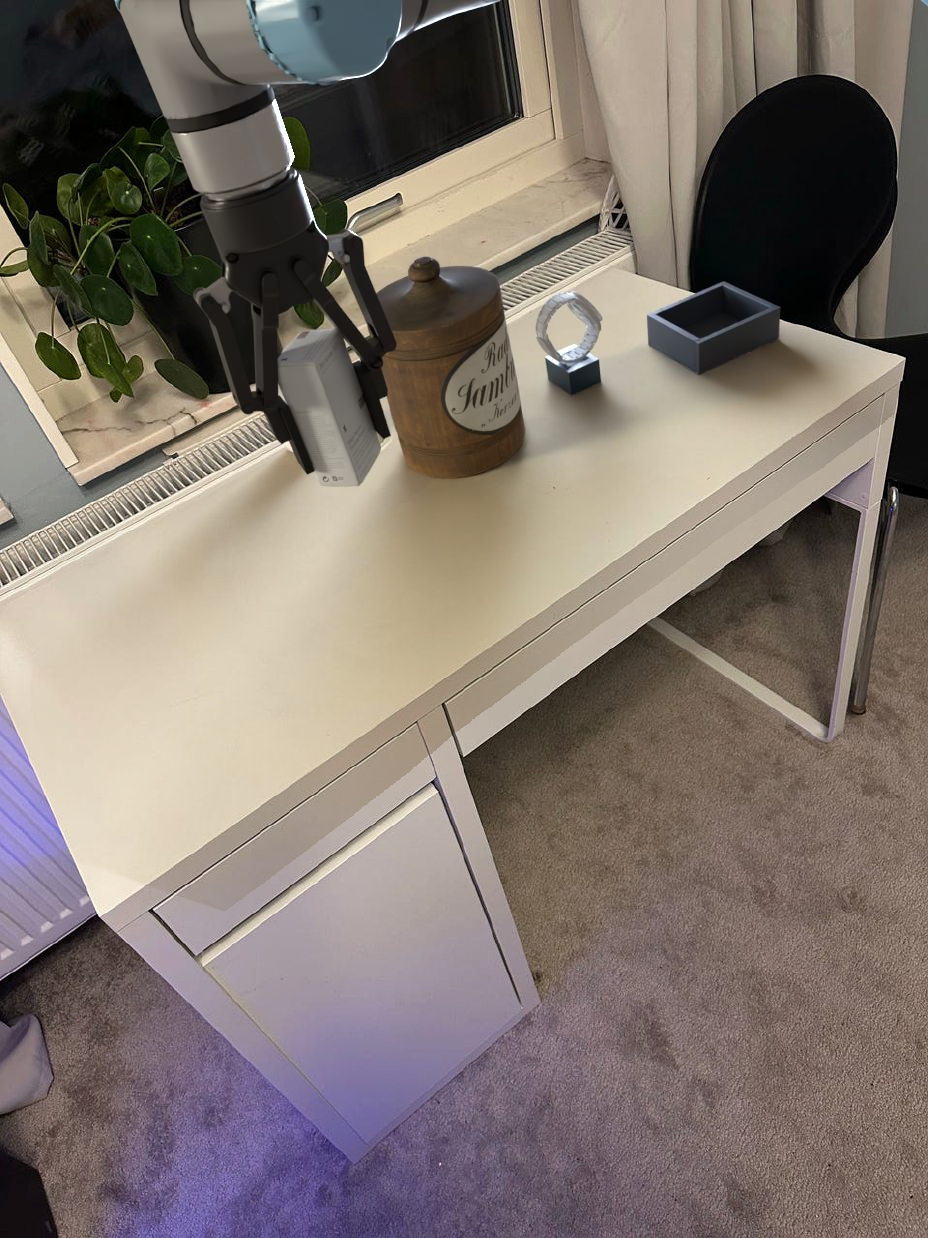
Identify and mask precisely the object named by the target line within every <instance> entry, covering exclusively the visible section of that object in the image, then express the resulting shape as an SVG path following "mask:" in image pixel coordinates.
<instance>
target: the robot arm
mask: <svg viewBox="0 0 928 1238" xmlns="http://www.w3.org/2000/svg"><path fill="white" fill-rule="evenodd" d="M500 1H501V0H114V2H115V6H116V8H117V11H119V13H120V15H121V17H122V19H123V22H124V24H125V26H126V29H127V31H128V34H129V36H130V39H131V41H132V44H133V45H134V49H135V50H136V53H137V55H138V58H139V60H140V62H141V65H142V67H143V70H144V72H145V74H146V76H147V79H148V82H149V83H150V86H151V89H152V91H153V93H154V95H155V99H156V100H157V103H158V105H159V107H160V110H161V112H162V115H163V117H164V118H165V120H166V123H167V125H168V128H169V131H170V133H171V135H172V138H173V140H174V144H175V146H176V148H177V151H178V153H179V155H180V158H181V161H182V163H183V166H184V168H185V170H186V171H185V172H186V173H187V176H188V179H189V181H190V184H191V186H192V188H193V190H194V191H196V192H198V193H199V194H201V198H200V201H199V207H200V210H201V211H202V215H203V216H204V219H205V221H206V224H207V226H208V229H209V231H210V233H211V235H212V238H213V241H214V243H215V246H216V248H217V250H218V253H219V256H220V259H221V270H220V275H221V277H220V278H217V280H215V281H214V282H212V283H211V284H210V285H209V286H207V287H206V288H205V287H203V286H198V287H197V288H195V289H194V290H193V293H192V297H193V299H194V301H195V302H196V304H197V305H198V306H199V308H200V309H201V310H202V312H203V313H204V314H205V316H206V317H207V318H208V321H209V326H210V328H211V331H212V334H213V337H214V340H215V344H216V347H217V351H218V354H219V356H220V357H219V358H220V360H221V363H222V367H223V370H224V373H225V376H226V380H227V383H228V385H229V390H230V392H231V395H232V398H233V401H234V402H235V404H236V405H237V406H238V408H239V409H240V411H241V412H242V413H243V415H252V414H254V413H256V412H261V413H263V415H264V417H265V420H266V422H267V424H268V426H269V428H270V431H271V433H272V435H273V436H274V438H275V439H276V441H278V443H280V445H284V443H285V442H287V441H289V443H290V445H291V447H292V450H293V452H294V453H293V452H292V453H293V455H294V457H295V459H296V462H297V463H298V465H299V466H300V468H301V469H302V470H303V471H304V473H305V474H306V475H307V476H308V475H310V474H312V473H315V472H314V471H315V470H314V468H313V465H312V463H311V460H310V458H309V455H308V453H307V450H306V448H305V445H304V443H303V440H302V438H301V435H300V433H299V430H298V428H297V425H296V423H295V420H294V418H293V415H292V413H291V410H290V408H289V406H288V405H287V404H286V403H285V401H284V400H283V399H282V398H281V396H280V395H279V396H278V357H279V356H278V329H279V327H280V326H279V325H280V317H279V316H280V315H281V314H283V313H286V312H288V311H289V310H290V309H291V308H293V307H294V306H297V305H305V304H308V303H311V302H312V301H313V302H314V304H315V305H316V306H317V308H319V310H320V311H321V313H323V315H324V316H325V317H326V319H327V320H328V321H329V322H330V323H331V325H332V326H333V327H334V328H336V329H337V330H338V331H339V332H340V334H341V335H342V336H343V338H344V341H345V343H347V345H348V346H349V347H350V348H351V349H352V350H353V352H354V353H355V354H356V356H357V357H358V358H359V359H358V360H356V361H354V362H352V364H353V367H354V370H355V372H356V375H357V378H358V381H359V384H360V387H361V390H362V393H363V396H364V399H365V402H366V405H367V407H368V410H369V413H370V416H371V419H372V422H373V425H374V428H375V431H376V434H377V435H379V436H380V438H382V439H383V440H385V439H387V438H390V437H392V434H391V431H390V428H389V425H388V422H387V421H388V420H387V417H386V415H385V412H384V409H383V406H382V403H381V399H384V398H387V395H388V389H387V385H386V382H385V379H384V375H383V372H382V369H381V368H382V366H383V359H382V357H383V356H384V355H385V354H386V353H387V352H392V351H393V350H395V348H396V345H397V344H396V340H395V338H394V335H393V333H392V330H391V328H390V326H389V323H388V321H387V318H386V316H385V313H384V311H383V309H382V306H381V304H380V301H379V299H378V296H377V294H376V293H377V292H376V289H375V286H374V284H373V281H372V280H371V277H370V275H369V272H368V270H367V267H366V263H365V248H364V240H363V239H362V237H360V235H357V234H356V233H354V232H353V231H351V230H350V229H348V228H342V229H341V230H339V232H338V233H335V234H327V235H325V234H324V233H323V232H322V231H321V230H320V229H319V227H318V226H317V223H316V221H315V217H314V214H313V211H312V208H311V205H310V202H309V198H308V196H307V192H306V190H305V186H304V184H303V183H304V182H303V179H302V177H301V174H300V172H299V171H298V170H297V169H296V168H294V167H293V166H291V165H292V163H293V162H294V158H295V155H294V154H295V153H294V152H293V149H292V145H291V143H290V142H291V141H290V139H289V136H288V133H287V131H286V128H285V124H284V121H283V119H282V116H281V115H282V114H281V112H280V110H279V106H278V103H277V100H276V98H275V93H274V89H273V86H272V85H287V84H288V85H289V84H290V85H291V84H294V85H295V84H308V85H316V84H319V85H321V86H329V85H336V84H338V83H339V82H340V81H342V80H348V79H354V78H361V77H365V76H367V75H370V74H372V73H373V72H375V71H376V70H378V69H379V68H381V66H382V65H383V64H384V62H385V61H386V60H387V58H388V54H389V53H390V50H391V49H392V47H393V46H394V44H395V43H396V42H398V41H400V40H402V39H404V38H405V37H407V36H408V35H411V34H413V32H415V31H417V30H420V29H421V28H424V27H426V26H429V25H431V24H433V23H435V22H438V21H440V20H442V19H445V18H447V17H451V16H453V15H456V14H460V13H464V12H467V11H470V10H474V9H477V8H481V7H485V6H488V5H491V4H495V3H498V2H500ZM920 1H921V3H923V4H924V5H925V6H927V7H928V0H920ZM329 253H331V255H332V257H333V259H334V261H336V262H337V263H339V264H340V265H341V268H342V271H343V273H344V275H345V277H346V279H347V282H348V284H349V287H350V289H351V292H352V293H353V296H354V298H355V300H356V303H357V306H358V308H359V310H360V313H361V314H362V317H363V319H364V322H365V323H366V327H367V326H368V327H367V329H368V328H369V331H370V333H371V335H372V338H370V339H369V340H367V339H366V337H365V336H364V335H363V333H362V332H361V330H359V328H358V327H357V326H356V324H355V323H354V322H353V321H352V319H351V318H350V316H349V315H348V314H347V313H346V312H345V310H344V309H343V308H342V306H341V305H340V304H339V303H338V301H337V300H336V299H335V297H334V295H333V294H332V293H331V291H329V289H328V288H327V286H326V285H325V284H324V283H323V281H322V279H323V275H324V270H325V268H326V267H325V266H326V264H327V260H328V256H329ZM232 292H233V293H235V294H236V295H238V296H240V297H241V298H243V299H245V300H246V301H248V302H249V303H250V313H251V318H252V327H253V349H254V352H253V353H254V376H255V379H254V380H255V390H252V388H251V385H250V382H249V378H248V375H247V372H246V368H245V365H244V362H243V359H242V358H243V357H242V355H241V351H240V348H239V345H238V342H237V338H236V334H235V331H234V328H233V326H232V323H231V321H230V319H229V317H228V315H227V314H228V313H230V311H231V309H232V305H231V301H230V295H231V293H232ZM369 331H368V332H369Z"/></svg>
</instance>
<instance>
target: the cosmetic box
mask: <svg viewBox="0 0 928 1238" xmlns="http://www.w3.org/2000/svg"><path fill="white" fill-rule="evenodd" d="M352 363H353V362H352V358H351V356H350V353H349V350H348V347H347V344H346V341H345V339H344V338H343V336H342V335H341V334H340V332H339V331H338V330H337V329H336V328H335V327H334V328H324V329H317V330H307V331H306V330H305V331H299V333H297V334H296V336H295V337H294V338H293V339H292V341H291V342H289V343H288V344H287V345H286V346H285V347H284V348H283V349H282V351H281V353H280V355H279V356H278V384H279V386H280V389H281V391H282V394H283V396H284V399H285V401H286V404H287V405H288V406H289V408H290V410H291V413H292V415H293V418H294V420H295V423H296V425H297V428H298V430H299V433H300V435H301V438H302V440H303V443H304V445H305V448H306V450H307V453H308V455H309V458H310V460H311V463H312V465H313V468H314V470H315V471H314V472H313V473H314V474H315V477H316V479H317V482H318V484H319V486H321V487H330V488H331V487H333V488H337V487H338V488H341V487H344V488H345V487H360V486H361V485H362V484H363V482H364V480H366V477H367V476H368V474H369V473H370V471H371V470H372V468H373V466H374V464H375V462H376V461H377V458H378V457H379V455H380V454H381V451H382V446H381V442H380V440H379V437H378V433H377V432H376V431H375V428H374V425H373V422H372V419H371V416H370V413H369V410H368V407H367V405H366V402H365V399H364V396H363V393H362V390H361V387H360V384H359V381H358V378H357V375H356V372H355V370H354V367H353V364H352Z"/></svg>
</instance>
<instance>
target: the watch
mask: <svg viewBox="0 0 928 1238" xmlns="http://www.w3.org/2000/svg"><path fill="white" fill-rule="evenodd" d="M565 305H567V307H568V310H570V312H572V314H573V315H574V316H576V318H578V320H579V321H581V322H582V323H583V324H584V325H585V326H586V328H585V331H584V335H583V337H582V339H581V340H580V342H579V343H578V344H576V343H573V344H571V345H569V346H566V347H564V348H562V349H560V350H557V349H556V348H555V346H554V345H553V343H552V340H550V338H549V335H548V332H547V331H548V328H549V327H548V326H549V323H550V322H551V319H552V317H553V316H554V315H555V314H556V312H557V311H558V310H559V309H560V308H561V307H563V306H565ZM601 321H603V316H602V315H601V313H600V311H599V310H598V309H597V308H596V307H595V306H594V305H593V303H591V301H589V300H588V299H587V298H586V297H585V296H583V295H582V294H581V293H579V292H578V291H575V290H571V291H570V293H569V292H567V291H562V292H559V293H557V294H555V295H553V296H552V297H550V298H549V299H548V300H547V301H546V302H545V303H544V304H543V306H542V307H541V308H540V311H539V313H538V315H537V318H536V321H535V335H536V336H535V340H536V341H537V343H538V345H539V346H540V348H541V349H542V350H543V351H544V353H546V355H547V356H544V359H545V360H544V361H545V367H546V374H547V380H548V381H550V382H551V383H553V385H555V386H556V387H559V388H560V389H561V390H562V391H563V392H565V393H566V394H568V395H570V396H574V395H577V394H579V393H581V392H583V391H585V390H588V389H590V388H592V387H594V386H596V385H599V384H600V383H602V375H601V365H600V358H598V357H596V356H595V355H593V354H591V353H590V352H591V351H592V350H593V348H594V347H595V345H596V343H597V341H598V339H599V335H600V332H601V331H602V323H601Z"/></svg>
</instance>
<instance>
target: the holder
mask: <svg viewBox="0 0 928 1238" xmlns="http://www.w3.org/2000/svg"><path fill="white" fill-rule="evenodd" d="M780 321H781V306H778V305H777V304H774V303H772V302H771V301H770V302H769V301H767V300H766V299H764V298H761V297H759V296H756V295H754V294H753V293H750V292H748V291H746V290H743V289H741V288H739V287H736V286H735V285H732V284H730V283H729V282H726V281H724V280H723V281H721V282H719V283H716V284H714V285H712V286H710V287H708V288H705V289H702V290H701V291H698V292H696V293H693V294H691V295H688V296H686V297H684V298H682V299H679V300H677V301H675V302H673V303H670V304H668V305H665V306H663V307H660V308H659V309H656V310H654V311H652V312H649V313H647V314H646V326H647V327H646V329H647V345H649V346H650V347H651V348H653V349H655V350H657V351H658V352H660V353H662V354H663V355H665V356H666V357H668V358H669V359H672V360H673V361H675V362H676V363H678V364H680V365H681V366H683V367H684V368H687V369H688V370H690V371H691V372H693V373H695V374H696V375H698V376H700V375H702V374H705V373H708V372H709V371H712V370H714V369H716V368H719V367H720V366H723V365H726V364H727V363H729V362H732V361H734V360H736V359H738V358H740V357H742V356H745V355H747V354H749V353H751V352H753V351H756V350H758V349H760V348H762V347H765V346H766V345H767V346H768V345H769V344H772V343H773V342H776V341H778V340H779V339H780V323H781V322H780Z"/></svg>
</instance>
